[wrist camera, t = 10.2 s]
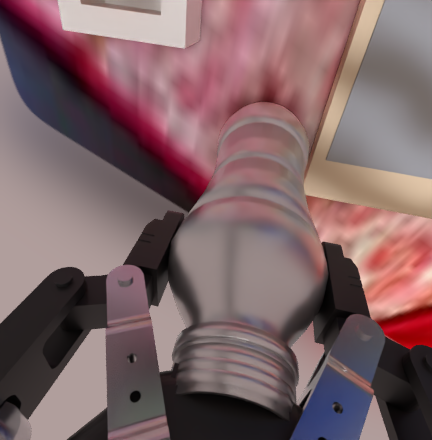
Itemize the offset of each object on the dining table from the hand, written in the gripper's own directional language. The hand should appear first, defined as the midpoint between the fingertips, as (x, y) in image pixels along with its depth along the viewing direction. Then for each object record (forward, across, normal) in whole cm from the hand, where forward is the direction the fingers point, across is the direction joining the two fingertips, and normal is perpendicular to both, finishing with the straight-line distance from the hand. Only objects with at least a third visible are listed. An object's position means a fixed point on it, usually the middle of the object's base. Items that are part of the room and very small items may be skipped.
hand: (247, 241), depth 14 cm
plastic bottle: (+13, 0, 0) cm, 13 cm away
